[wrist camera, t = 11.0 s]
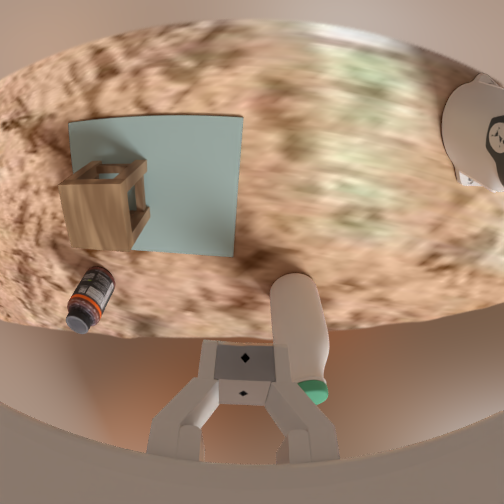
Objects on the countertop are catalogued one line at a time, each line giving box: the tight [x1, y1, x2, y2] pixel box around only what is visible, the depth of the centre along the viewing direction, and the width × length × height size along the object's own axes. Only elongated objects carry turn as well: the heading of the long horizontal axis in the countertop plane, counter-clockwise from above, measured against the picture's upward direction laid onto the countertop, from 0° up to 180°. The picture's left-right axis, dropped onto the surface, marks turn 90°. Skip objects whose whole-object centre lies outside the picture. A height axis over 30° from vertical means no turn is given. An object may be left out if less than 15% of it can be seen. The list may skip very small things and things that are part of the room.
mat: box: [68, 115, 243, 257], centre depth 37 cm, size 24×20×1 cm
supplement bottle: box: [66, 267, 115, 334], centre depth 41 cm, size 6×6×11 cm
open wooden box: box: [58, 160, 150, 252], centre depth 33 cm, size 9×8×8 cm
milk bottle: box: [270, 273, 329, 405], centre depth 39 cm, size 8×8×20 cm
